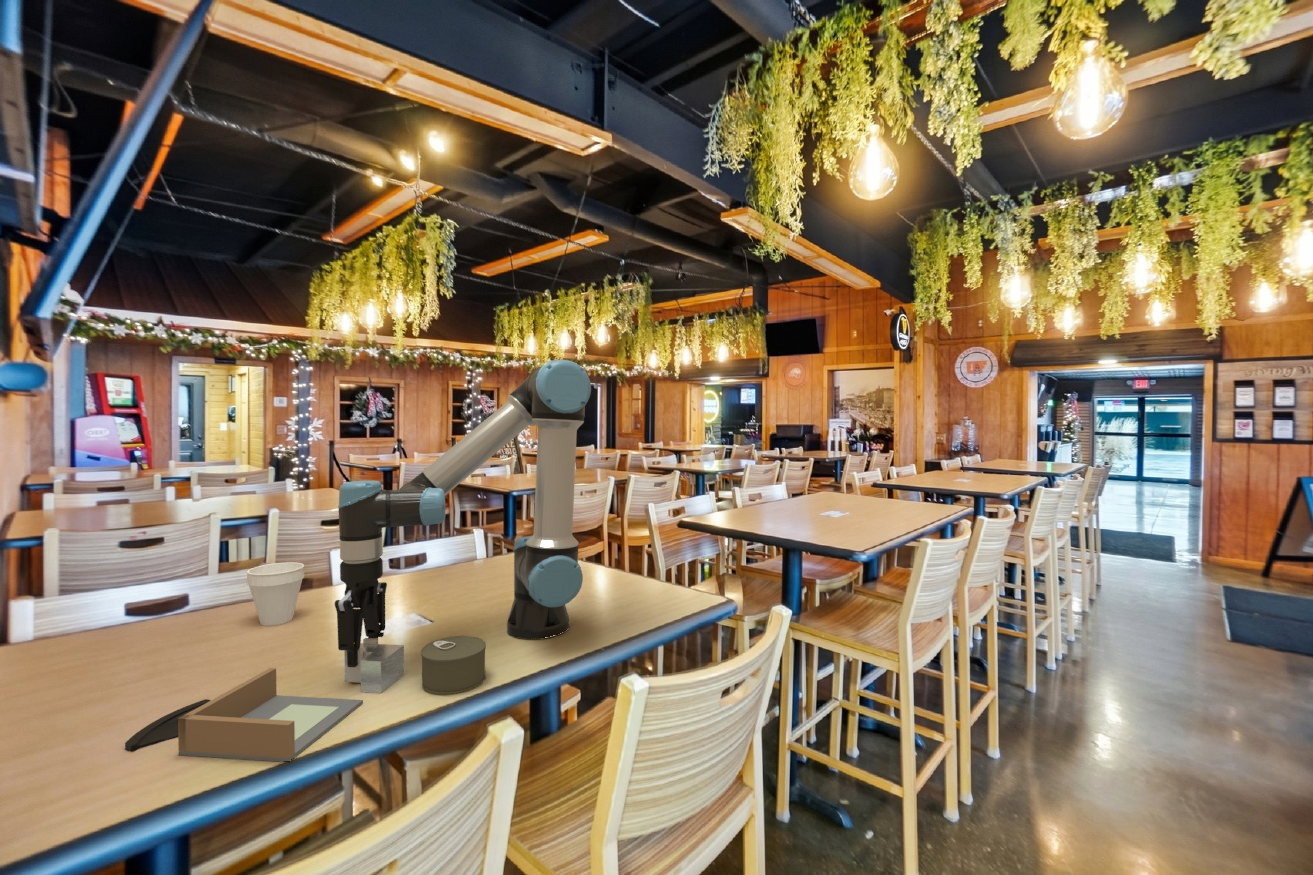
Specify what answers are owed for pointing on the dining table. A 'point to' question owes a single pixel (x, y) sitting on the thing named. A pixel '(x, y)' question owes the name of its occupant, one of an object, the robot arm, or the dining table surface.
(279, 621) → the cup
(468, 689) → the can
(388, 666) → the bracket
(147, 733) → the dark sector wedge
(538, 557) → the robot arm
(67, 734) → the dining table surface
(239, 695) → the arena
